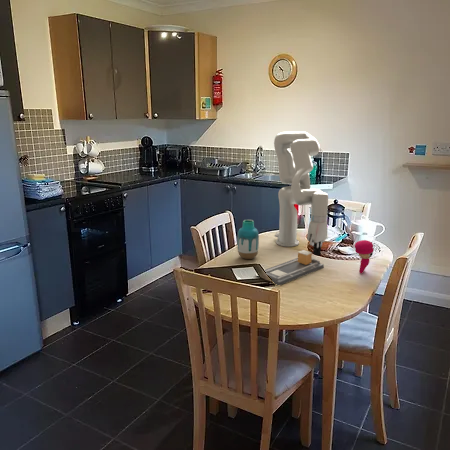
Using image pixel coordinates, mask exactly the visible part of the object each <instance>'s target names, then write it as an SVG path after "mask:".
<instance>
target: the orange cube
mask: <svg viewBox="0 0 450 450" xmlns="http://www.w3.org/2000/svg"><path fill="white" fill-rule="evenodd" d="M312 255H313V252H311V251H308V250H305V249H302V250H300V251H297V258H298V262H299V263H302V264H305V265H307V264H310V263H311V261H312V259H313V258H312Z"/></svg>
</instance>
